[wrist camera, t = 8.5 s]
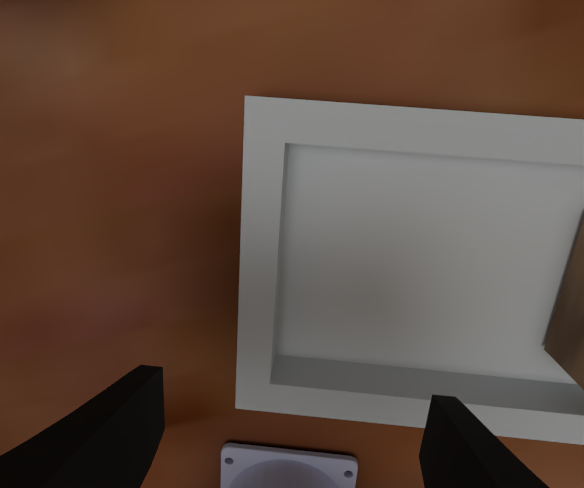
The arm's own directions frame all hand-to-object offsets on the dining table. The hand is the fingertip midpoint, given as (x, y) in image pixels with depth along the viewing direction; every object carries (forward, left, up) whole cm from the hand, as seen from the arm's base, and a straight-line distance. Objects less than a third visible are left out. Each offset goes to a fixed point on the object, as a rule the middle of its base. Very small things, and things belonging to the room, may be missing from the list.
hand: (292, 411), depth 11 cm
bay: (+1, -10, -10) cm, 14 cm away
